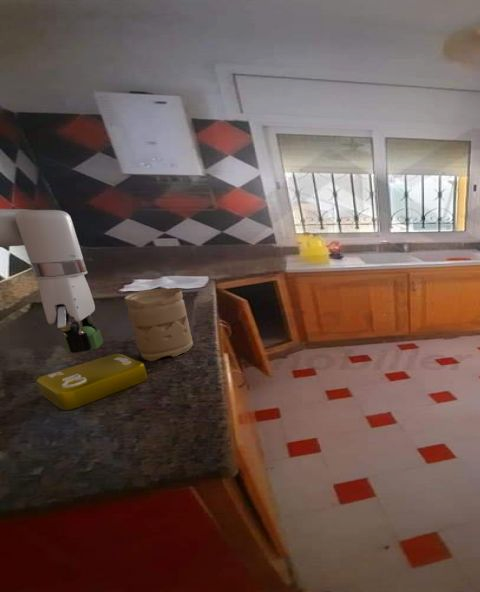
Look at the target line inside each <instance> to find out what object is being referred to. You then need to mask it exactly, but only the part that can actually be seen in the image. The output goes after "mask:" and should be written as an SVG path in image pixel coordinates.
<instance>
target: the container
mask: <svg viewBox="0 0 480 592" xmlns="http://www.w3.org/2000/svg"><path fill="white" fill-rule="evenodd" d="M183 298H184V296H183V290H182V289H181V288H176V287H171V288H170V287H169V288H155V289H147V290H142V291H138V292H133V293H130V294H127V295H125V297H124V303H125V305H126V306H127V314H128V318H129V322H130V325H132V329H133V334H134V337H135V344H136V347H137V349H138V351H139V353H141V354H140V356H141V358H142V359H143V360H145V361H148V362H155V361H157V360H160V359H162V358H165V357H173V358H176V357H175V356H177V357H179V356H178V355H180V354H182V353H184V354H185V353H188V352H189V350H190V349H192V347H193V346H194V341H193V336H192V333H191V332H192V331H191V327H190V323H189V318H188V314H187V309H186V304H185V300H184V299H183ZM187 351H188V352H187ZM182 355H183V354H182ZM180 356H181V355H180Z"/></svg>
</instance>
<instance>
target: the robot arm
mask: <svg viewBox="0 0 480 592" xmlns="http://www.w3.org/2000/svg"><path fill="white" fill-rule="evenodd" d="M22 246H24V247H25V248H24V249H25V251H26V254H27V257H28V259H29V263H30V266H31V269H32V271H33V274H34V278H35V279H36V280H38V289H39V290H38V291H39V295H40V299H41V304H42V308H43V311H44V315H45V319H46V321H47V323H48V324H49V325H51V326H55V325H57V329H58V330H59V331H61V332H62V333H63V336H64V338H66V340H67V343H68V346H69V348H70V351H71V353H70V354H75V353H76V354H77V353H82V352H88V351H91V350H92V349H91V345H90V342H89V339H88V336H87V333H84V330H83V327H85V326H88V327H92V328H94V329H95V330H97V329H96V326H95V321H94V318H93V313H94V312H95V310H96V305H95V302H94V297H93V295H92V291H91V288H90V286H89V284H88V281H87V279H86V277H85V275H87V274H88V270H87V266H86V264H85V260H84V257H83V253H82V250H81V246H80V242H79V239H78V237H77V232H76V229H75V226H74V222H73V220H72V218H71V215H70V214H69V213H68V212H66V211H64V210H59V209H26V208H25V209H23V208H20V209H19V208H0V248H8V247H22ZM71 320H72V321H71ZM90 349H91V350H90Z"/></svg>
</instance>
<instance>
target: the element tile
mask: <svg viewBox="0 0 480 592" xmlns="http://www.w3.org/2000/svg"><path fill="white" fill-rule="evenodd" d="M147 380H148V375H147V370H146V366H145V364H144V362H142V361H139V360H137V359H134V358H133V357H131V356H130V357H129V356H127V355H125V354H122V353H112V354H110V355H106V356H103V357H100V358H97V359H93V360H89V361H86V362H83V363H80V364H77V365H74V366H70V367H66V368H63V369H61V370H58V371H57V370H56V371H55V372H51V373H48V374H47V373H46V374H44V375H42V376H40V377H38V378H37V379H36V383H37V386H38V389H39V391H40V394H41V396H42V397H43V398H45V399H46V400H47V401H49V402H51V403H52V404H53V405H55V406H56V407H58V408H59V409H61V410H63V411H72V410H75V409H79V408H81V407H84V406H87V405H88V404H89V405H90V404H92V403H94V402H96V401H99V400H101V399H105V398H107V397H109V396H112V395H114V394H116V393H120V392H121V391H124V390H127V389H130V388H133V387H135V386H137V385H139V384H142V383H144V382H145V381H147Z"/></svg>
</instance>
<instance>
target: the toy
mask: <svg viewBox="0 0 480 592" xmlns="http://www.w3.org/2000/svg"><path fill="white" fill-rule="evenodd" d="M92 327H93V326H92ZM92 327H88V326H85V327H83V330H84V333H87V336H88V339H89V342H90V345H91V349H90V350H89V351H91V350H97V349H98V348H99V347H100V346H102V344H104V339H103V336H102V332H101V329H99V328H98V329H96V330H95V329H94V328H92ZM63 341H64V345H65V348H66V351H67V353H68V354H72V353H71V351H70V348H69V346H68V343H67V340H66V337H64V338H63Z"/></svg>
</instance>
